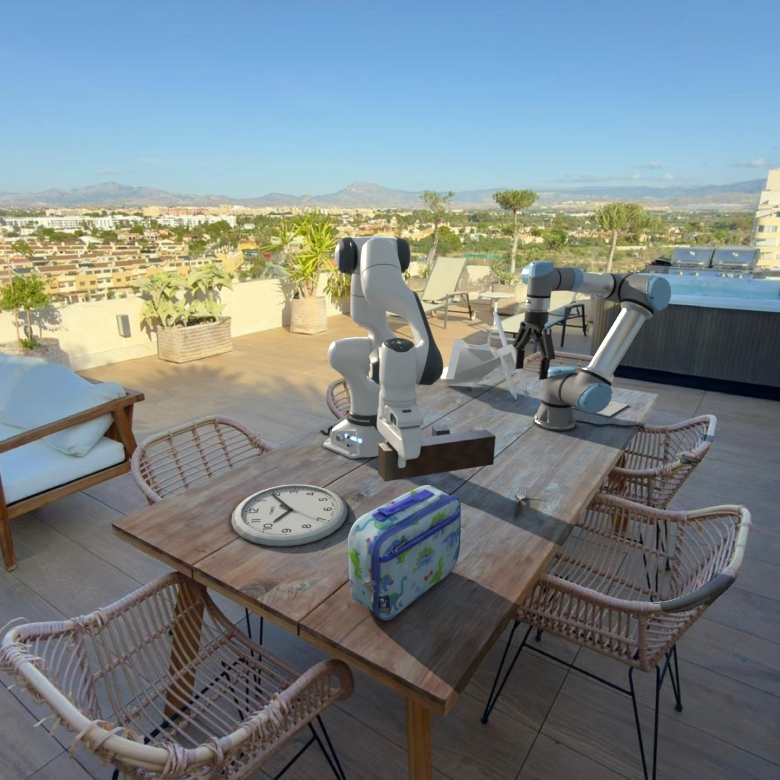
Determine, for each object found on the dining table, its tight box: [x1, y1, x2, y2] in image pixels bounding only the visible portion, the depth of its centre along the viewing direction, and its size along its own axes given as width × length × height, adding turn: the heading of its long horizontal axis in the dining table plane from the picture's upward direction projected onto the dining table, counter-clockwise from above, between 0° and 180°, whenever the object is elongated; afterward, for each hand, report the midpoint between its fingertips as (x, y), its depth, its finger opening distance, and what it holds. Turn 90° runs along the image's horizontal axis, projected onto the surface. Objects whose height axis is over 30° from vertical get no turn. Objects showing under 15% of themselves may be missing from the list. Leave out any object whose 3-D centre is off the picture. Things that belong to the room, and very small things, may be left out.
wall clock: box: [231, 483, 348, 547], centre depth 138 cm, size 30×2×30 cm
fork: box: [515, 484, 528, 518], centre depth 145 cm, size 3×16×2 cm, turn 160°
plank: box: [377, 428, 497, 483], centre depth 132 cm, size 30×5×8 cm, turn 110°
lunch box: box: [347, 484, 462, 621], centre depth 107 cm, size 26×11×21 cm, turn 134°
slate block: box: [431, 424, 451, 436], centre depth 186 cm, size 5×5×5 cm
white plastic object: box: [440, 310, 531, 400], centre depth 245 cm, size 37×45×31 cm
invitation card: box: [573, 400, 629, 418], centre depth 226 cm, size 21×1×15 cm
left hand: (396, 461), depth 128 cm, fingers closed on plank, 5 cm apart
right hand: (530, 373), depth 175 cm, fingers open, 13 cm apart
